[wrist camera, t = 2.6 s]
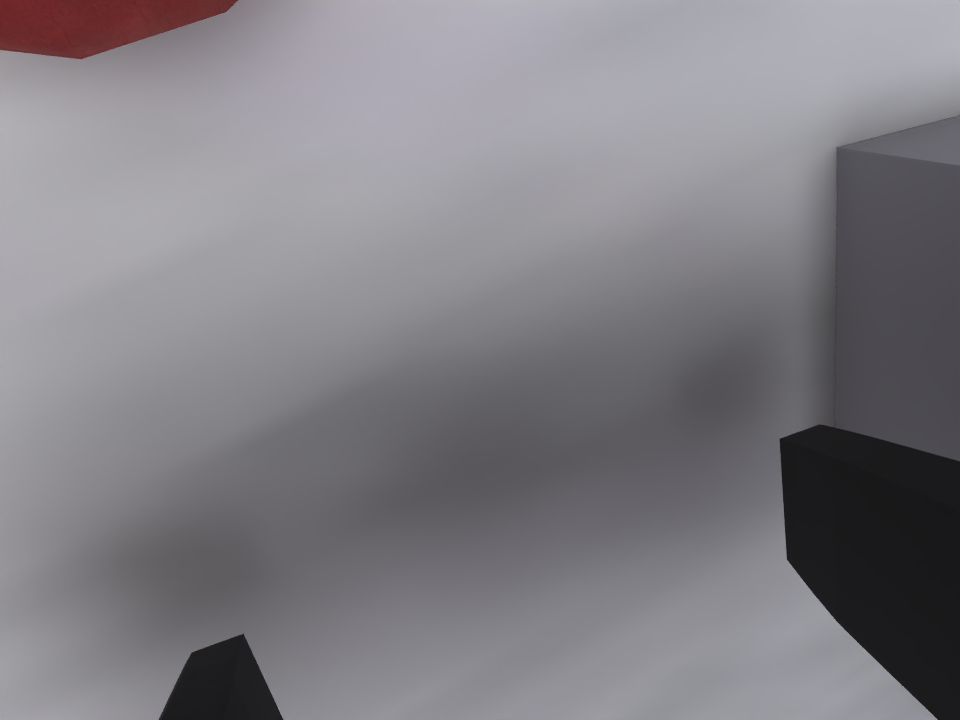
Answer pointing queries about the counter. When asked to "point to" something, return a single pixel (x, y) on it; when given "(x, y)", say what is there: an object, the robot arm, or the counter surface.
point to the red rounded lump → (94, 23)
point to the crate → (900, 288)
